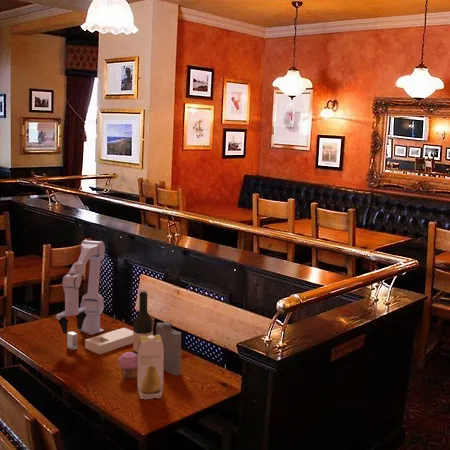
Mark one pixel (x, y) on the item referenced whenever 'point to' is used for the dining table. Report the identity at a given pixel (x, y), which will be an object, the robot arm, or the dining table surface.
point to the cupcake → (128, 364)
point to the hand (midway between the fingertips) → (72, 331)
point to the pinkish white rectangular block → (72, 340)
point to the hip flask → (170, 347)
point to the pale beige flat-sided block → (109, 341)
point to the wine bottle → (142, 321)
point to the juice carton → (150, 366)
